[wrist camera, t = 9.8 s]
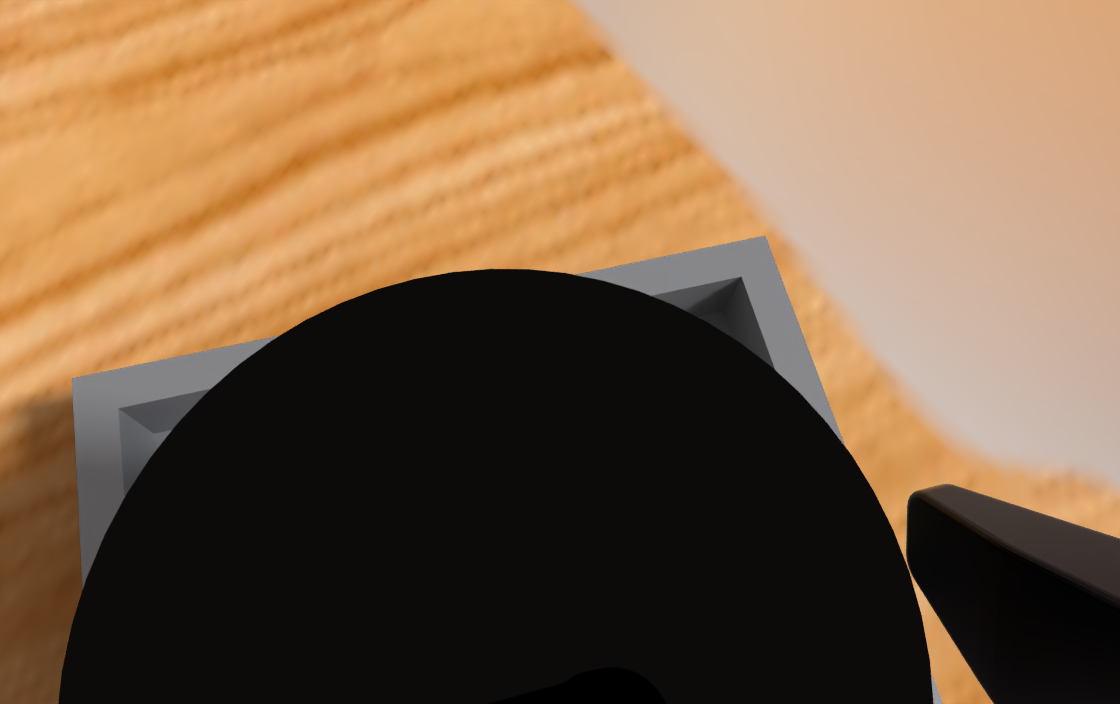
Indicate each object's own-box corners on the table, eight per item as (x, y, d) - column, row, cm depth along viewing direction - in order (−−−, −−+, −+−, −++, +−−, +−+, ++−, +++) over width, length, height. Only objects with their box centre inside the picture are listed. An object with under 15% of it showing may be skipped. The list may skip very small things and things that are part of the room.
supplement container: (415, 456, 18) (290, 175, 8) (730, 565, 17) (995, 400, 8) (270, 806, 15) (-148, 991, 6) (632, 944, 15) (842, 1406, 5)
